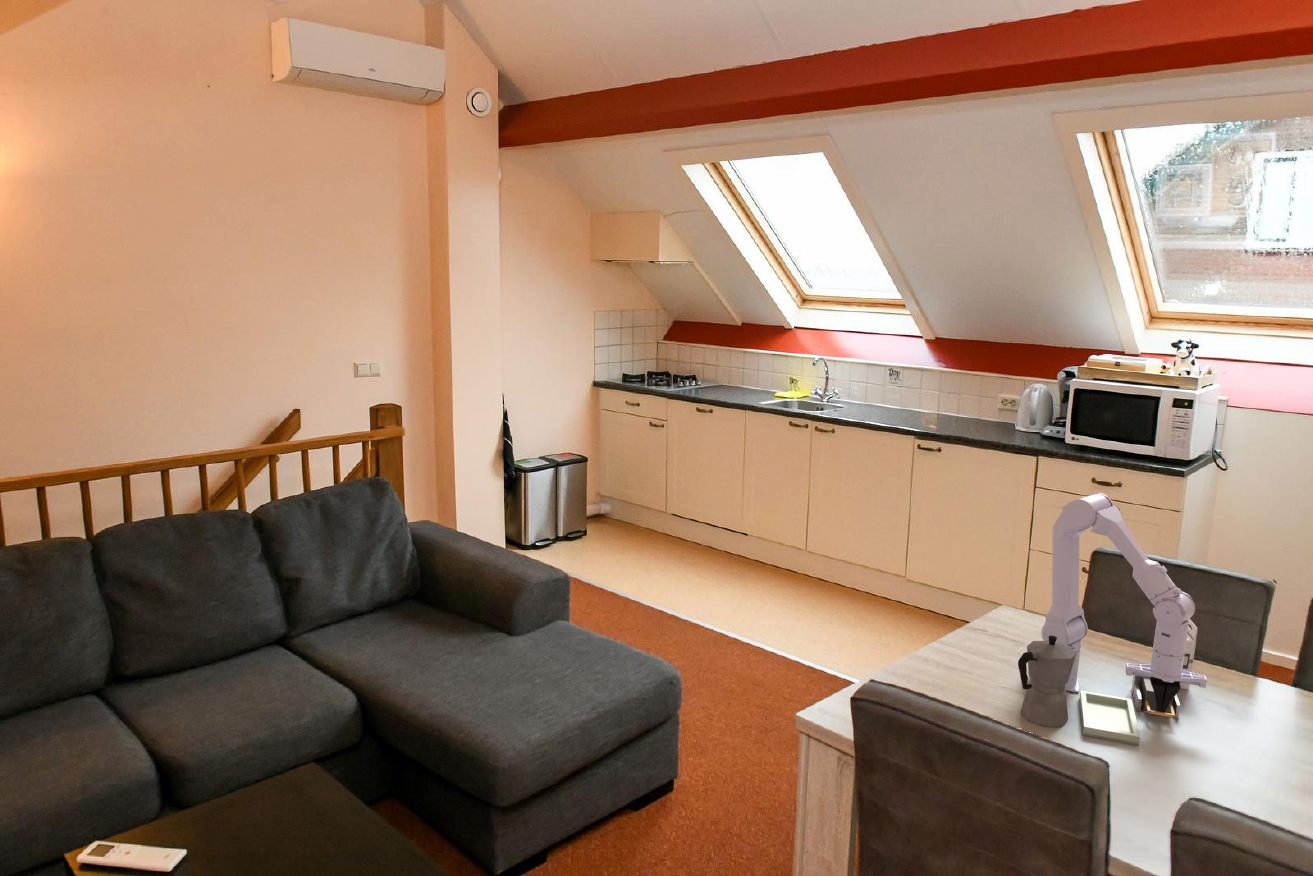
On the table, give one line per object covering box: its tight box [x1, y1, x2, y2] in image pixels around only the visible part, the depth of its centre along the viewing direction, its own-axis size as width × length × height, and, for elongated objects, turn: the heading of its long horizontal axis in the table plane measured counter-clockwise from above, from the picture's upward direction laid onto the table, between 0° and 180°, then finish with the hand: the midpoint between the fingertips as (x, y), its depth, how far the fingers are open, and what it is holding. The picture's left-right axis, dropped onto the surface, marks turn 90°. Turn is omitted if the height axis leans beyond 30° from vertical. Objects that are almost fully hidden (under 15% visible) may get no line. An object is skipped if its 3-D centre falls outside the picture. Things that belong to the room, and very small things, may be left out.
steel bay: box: [1131, 675, 1181, 720], centre depth 200 cm, size 8×11×6 cm
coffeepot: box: [1017, 636, 1076, 728], centre depth 192 cm, size 15×9×18 cm, turn 116°
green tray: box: [1078, 689, 1141, 747], centre depth 193 cm, size 10×17×2 cm, turn 158°
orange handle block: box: [1141, 677, 1176, 719], centre depth 197 cm, size 5×12×5 cm, turn 158°
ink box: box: [1180, 618, 1198, 690], centre depth 211 cm, size 9×5×15 cm, turn 168°
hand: (1160, 712), depth 193 cm, fingers closed
